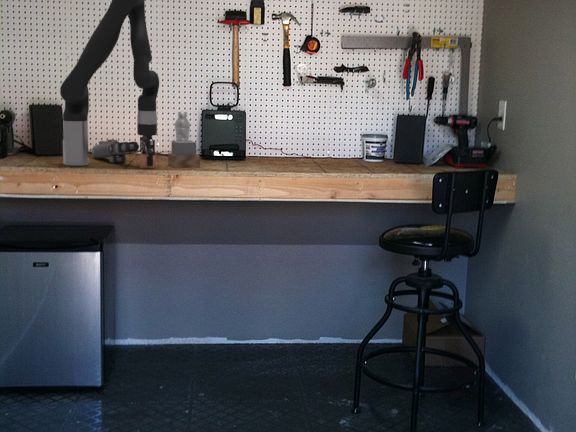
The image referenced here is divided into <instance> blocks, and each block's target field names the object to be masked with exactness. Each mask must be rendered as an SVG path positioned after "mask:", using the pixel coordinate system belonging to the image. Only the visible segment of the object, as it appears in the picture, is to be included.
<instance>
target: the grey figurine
mask: <svg viewBox="0 0 576 432" xmlns="http://www.w3.org/2000/svg"><path fill="white" fill-rule="evenodd" d="M177 117H178V118H177V119H176V121H175V122H174V128H175V141H190V139H189V137H190V129H191V123H190V122H189V120H188V118H187V117H188V112H187V111H178V112H177Z"/></svg>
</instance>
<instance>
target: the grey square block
mask: <svg viewBox="0 0 576 432" xmlns="http://www.w3.org/2000/svg"><path fill="white" fill-rule="evenodd" d="M171 153H172V154H174V155H176V156H187V155H196V154H197V142H196V141H193V140H189V141H176V140H171Z"/></svg>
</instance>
